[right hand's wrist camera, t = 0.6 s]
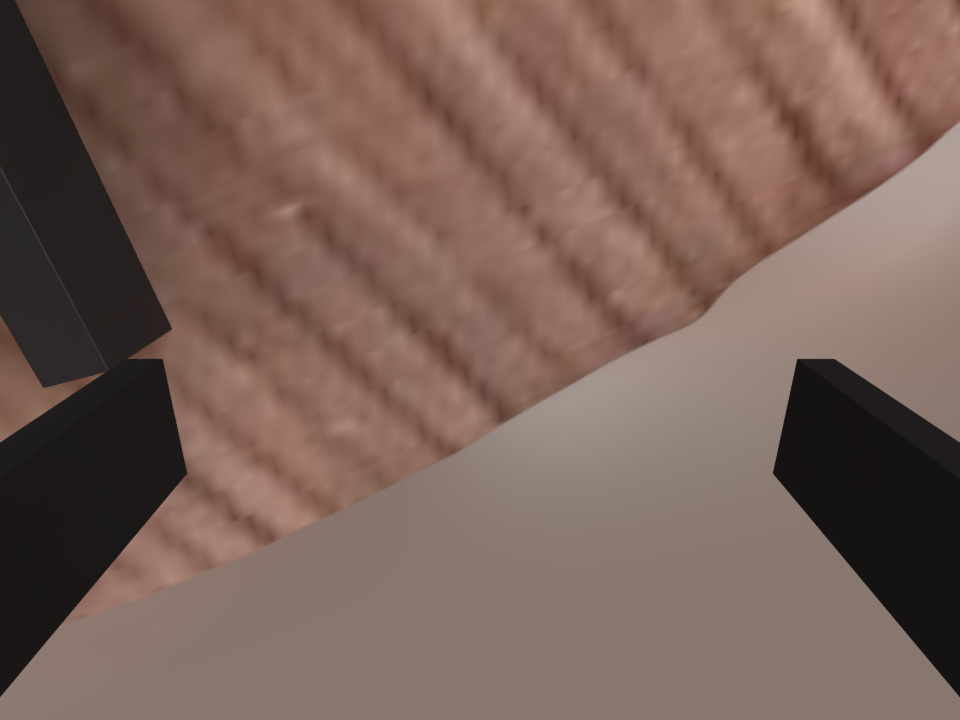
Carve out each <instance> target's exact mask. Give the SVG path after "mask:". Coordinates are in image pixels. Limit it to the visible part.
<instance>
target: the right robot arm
mask: <svg viewBox="0 0 960 720" xmlns="http://www.w3.org/2000/svg"><path fill="white" fill-rule="evenodd" d="M186 474H187V471H186V466H185V461H184V457H183V452H182V447H181V443H180V438H179V433H178V429H177V424H176V419H175V415H174V410H173V405H172V401H171V396H170V391H169V387H168V382H167V377H166V372H165V368H164V363H163V359H125V360H123V361H122V362H120V363H119V364H117V365H116V366H114V367H113V368H111V369H110V370H108V371H107V372H105V373H104V374H102V375H101V376H99V377H98V378H96V379H95V380H93V381H92V382H90V383H89V384H87V385H86V386H84V387H83V388H81V389H80V390H78V391H77V392H75V393H74V394H72V395H71V396H69V397H68V398H66V399H65V400H63V401H62V402H60V403H59V404H57V405H56V406H54V407H53V408H51V409H50V410H48V411H47V412H45V413H44V414H42V415H41V416H39V417H38V418H36V419H35V420H33V421H32V422H30V423H29V424H27V425H26V426H24V427H23V428H21V429H20V430H18V431H17V432H15V433H14V434H12V435H11V436H9V437H8V438H6V439H5V440H3V441H2V442H0V697H1V695H2V694H3V693H4V692H5V691H6V689H7V688H8V687H9V686H10V685H11V683H12V682H13V681H14V680H15V679H16V677H17V676H18V675H19V674H20V673H21V671H22V670H23V669H24V668H25V667H26V666H27V664H28V663H29V662H30V661H31V660H32V658H33V657H34V656H35V655H36V654H37V652H38V651H39V650H40V649H41V648H42V646H43V645H44V644H45V643H46V642H47V640H48V639H49V638H50V637H51V636H52V634H53V633H54V632H55V631H56V630H57V628H58V627H59V626H60V625H61V624H62V622H63V621H64V620H65V619H66V618H67V616H68V615H69V614H70V613H71V612H72V610H73V609H74V608H75V607H76V606H77V604H78V603H79V602H80V601H81V600H82V599H83V597H84V596H85V595H86V594H87V593H88V591H89V590H90V589H91V588H92V587H93V585H94V584H95V583H96V582H97V581H98V579H99V578H100V577H101V576H102V575H103V573H104V572H105V571H106V570H107V569H108V567H109V566H110V565H111V564H112V563H113V561H114V560H115V559H116V558H117V557H118V555H119V554H120V553H121V552H122V551H123V549H124V548H125V547H126V546H127V545H128V543H129V542H130V541H131V540H132V539H133V537H134V536H135V535H136V534H137V533H138V532H139V530H140V529H141V528H142V527H143V526H144V524H145V523H146V522H147V521H148V520H149V518H150V517H151V516H152V515H153V514H154V512H155V511H156V510H157V509H158V508H159V506H160V505H161V504H162V503H163V502H164V500H165V499H166V498H167V497H168V496H169V494H170V493H171V492H172V491H173V490H174V488H175V487H176V486H177V485H178V484H179V482H180V481H181V480H182V479H183V478H184V476H185V475H186ZM773 474H774V475H775V476H776V478H777V479H778V480H779V481H780V482H781V484H782V485H783V486H784V487H785V488H786V490H787V491H788V492H789V493H790V494H791V496H792V497H793V498H794V499H795V500H796V502H797V503H798V504H799V505H800V506H801V508H802V509H803V510H804V511H805V512H806V513H807V515H808V516H809V517H810V518H811V520H812V521H813V522H814V523H815V524H816V526H817V527H818V528H819V529H820V530H821V532H822V533H823V534H824V535H825V536H826V537H827V539H828V540H829V541H830V542H831V543H832V545H833V546H834V547H835V548H836V549H837V551H838V552H839V553H840V554H841V555H842V557H843V558H844V559H845V560H846V561H847V563H848V564H849V565H850V566H851V567H852V569H853V570H854V571H855V572H856V573H857V575H858V576H859V577H860V578H861V579H862V581H863V582H864V583H865V584H866V585H867V587H868V588H869V589H870V590H871V591H872V592H873V594H874V595H875V596H876V597H877V599H878V600H879V601H880V602H881V603H882V604H883V606H884V607H885V608H886V609H887V610H888V612H889V613H890V614H891V615H892V616H893V618H894V619H895V620H896V621H897V622H898V624H899V625H900V626H901V627H902V628H903V630H904V631H905V632H906V633H907V634H908V636H909V637H910V638H911V639H912V640H913V642H914V643H915V644H916V645H917V646H918V648H919V649H920V650H921V651H922V652H923V654H924V655H925V656H926V657H927V658H928V659H929V661H930V662H931V663H932V664H933V666H934V667H935V668H936V669H937V670H938V671H939V673H940V674H941V675H942V676H943V677H944V679H945V680H946V681H947V682H948V683H949V685H950V686H951V687H952V688H953V689H954V691H955V692H956V693H957V694H958V695H959V697H960V442H958V441H957V440H955V439H954V438H952V437H951V436H949V435H948V434H946V433H945V432H943V431H942V430H940V429H939V428H937V427H936V426H934V425H933V424H931V423H930V422H928V421H927V420H925V419H924V418H922V417H921V416H919V415H918V414H916V413H915V412H913V411H912V410H910V409H909V408H907V407H906V406H904V405H903V404H901V403H900V402H898V401H897V400H895V399H894V398H892V397H891V396H889V395H888V394H886V393H885V392H883V391H882V390H880V389H879V388H877V387H876V386H874V385H873V384H871V383H870V382H868V381H867V380H865V379H864V378H862V377H861V376H859V375H858V374H856V373H855V372H853V371H852V370H850V369H849V368H847V367H846V366H844V365H843V364H841V363H840V362H838V361H837V360H835V359H797V363H796V368H795V373H794V377H793V382H792V387H791V391H790V396H789V401H788V405H787V410H786V415H785V419H784V424H783V429H782V433H781V438H780V443H779V448H778V452H777V457H776V461H775V466H774V471H773Z"/></svg>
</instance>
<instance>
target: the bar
mask: <svg viewBox="0 0 960 720" xmlns="http://www.w3.org/2000/svg"><path fill="white" fill-rule="evenodd" d="M0 315H1V316H2V318H3V320H4V322H5V323H6V325H7V327H8V328H9V330H10V332H11V334H12V335H13V337H14V339H15V340H16V342H17V344H18V345H19V347H20V349H21V351H22V352H23V354H24V356H25V357H26V359H27V361H28V363H29V364H30V366H31V368H32V369H33V371H34V373H35V374H36V376H37V378H38V380H39V381H40V383H41V385H42V386H43V388H45V387H49V386H53V385H57V384H61V383H65V382H69V381H73V380H76V379H80V378H84V377H88V376H92V375H96V374H100V373H104V372H107V371H108V370H110V369H111V368H113V367H114V366H116V365H117V364H119V363H120V362H122V361H123V360H125V359H128V358H129V357H131V356H132V355H134V354H135V353H137V352H138V351H140V350H141V349H143V348H144V347H146V346H147V345H149V344H150V343H152V342H153V341H155V340H156V339H158V338H159V337H161V336H162V335H164V334H165V333H167V332H168V331H170V330H171V329H172V328H171V326H170V324H169V322H168V320H167V318H166V315H165V313H164V311H163V309H162V307H161V305H160V303H159V301H158V299H157V297H156V295H155V293H154V290H153V288H152V286H151V284H150V282H149V280H148V278H147V276H146V274H145V272H144V270H143V267H142V265H141V263H140V261H139V259H138V257H137V255H136V253H135V251H134V249H133V247H132V244H131V242H130V240H129V238H128V236H127V234H126V232H125V230H124V228H123V226H122V224H121V222H120V219H119V217H118V215H117V213H116V211H115V209H114V207H113V205H112V203H111V201H110V199H109V196H108V194H107V192H106V190H105V188H104V186H103V184H102V182H101V180H100V178H99V176H98V173H97V171H96V169H95V167H94V165H93V163H92V161H91V159H90V157H89V155H88V153H87V151H86V148H85V146H84V144H83V142H82V140H81V138H80V136H79V134H78V132H77V130H76V128H75V125H74V123H73V121H72V119H71V117H70V115H69V113H68V111H67V109H66V107H65V105H64V102H63V100H62V98H61V96H60V94H59V92H58V90H57V88H56V86H55V84H54V82H53V80H52V77H51V75H50V73H49V71H48V69H47V67H46V65H45V63H44V61H43V59H42V57H41V54H40V52H39V50H38V48H37V46H36V44H35V42H34V40H33V38H32V36H31V34H30V31H29V29H28V27H27V25H26V23H25V21H24V19H23V17H22V15H21V13H20V11H19V9H18V6H17V4H16V2H15V0H0Z"/></svg>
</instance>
